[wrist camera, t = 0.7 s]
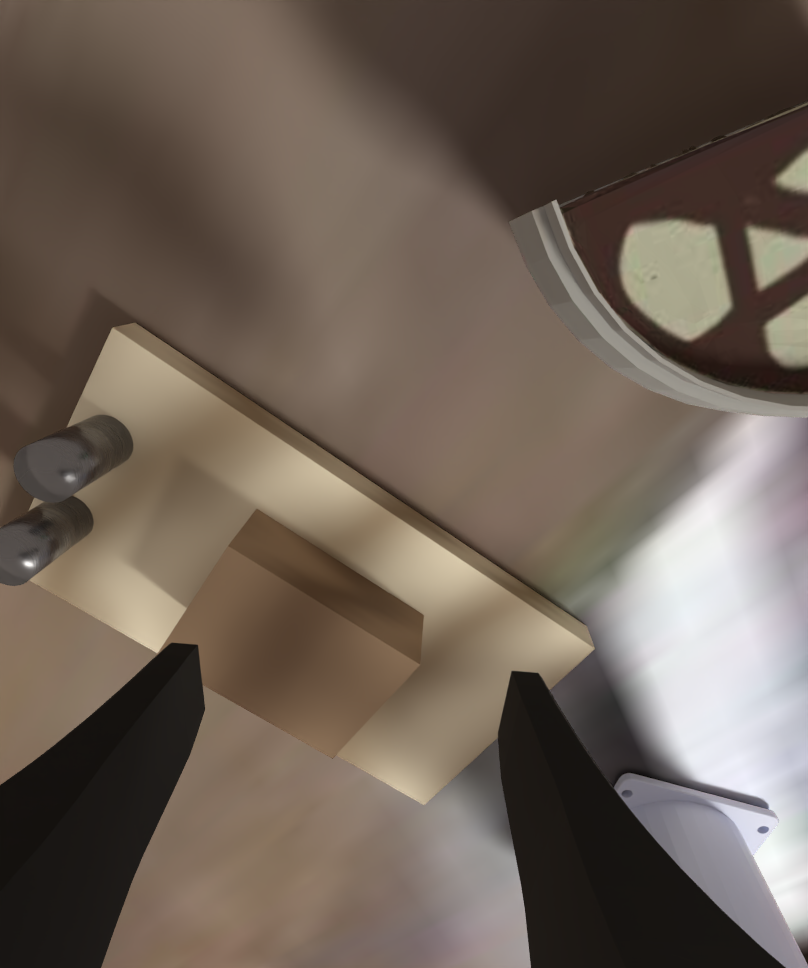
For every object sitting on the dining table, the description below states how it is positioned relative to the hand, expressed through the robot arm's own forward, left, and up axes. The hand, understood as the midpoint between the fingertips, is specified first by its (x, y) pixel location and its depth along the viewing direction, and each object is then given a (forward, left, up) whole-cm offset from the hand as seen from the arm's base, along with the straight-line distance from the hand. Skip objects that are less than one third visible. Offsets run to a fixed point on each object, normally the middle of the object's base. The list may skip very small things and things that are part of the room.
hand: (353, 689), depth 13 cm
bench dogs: (-2, +12, -9) cm, 15 cm away
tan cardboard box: (-5, +2, -9) cm, 11 cm away
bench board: (-5, +3, -11) cm, 12 cm away
